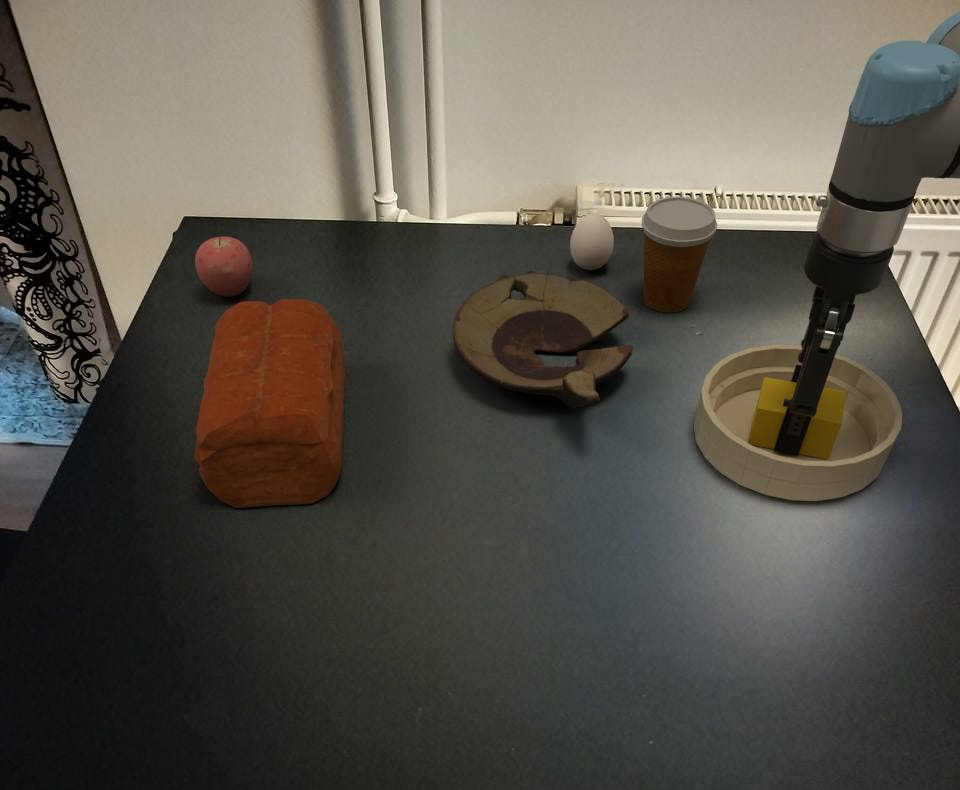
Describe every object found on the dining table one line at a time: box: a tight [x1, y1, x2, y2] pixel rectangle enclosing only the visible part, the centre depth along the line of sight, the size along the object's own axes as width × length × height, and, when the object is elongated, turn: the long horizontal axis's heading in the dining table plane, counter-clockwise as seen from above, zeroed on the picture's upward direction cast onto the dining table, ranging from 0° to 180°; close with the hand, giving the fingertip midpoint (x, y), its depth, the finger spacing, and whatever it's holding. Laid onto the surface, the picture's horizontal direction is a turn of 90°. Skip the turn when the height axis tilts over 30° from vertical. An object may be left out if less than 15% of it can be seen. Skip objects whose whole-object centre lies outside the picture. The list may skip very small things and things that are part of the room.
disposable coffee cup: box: [641, 196, 718, 313], centre depth 117 cm, size 10×10×12 cm
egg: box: [569, 212, 615, 271], centre depth 124 cm, size 6×6×8 cm
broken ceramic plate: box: [451, 270, 634, 408], centre depth 108 cm, size 22×30×8 cm
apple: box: [194, 236, 254, 298], centre depth 120 cm, size 7×7×8 cm
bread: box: [193, 298, 346, 509], centre depth 101 cm, size 16×27×11 cm, turn 4°
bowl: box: [693, 344, 903, 502], centre depth 101 cm, size 22×22×6 cm
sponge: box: [748, 377, 846, 459], centre depth 100 cm, size 9×6×5 cm, turn 72°
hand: (789, 433), depth 102 cm, fingers closed on sponge, 6 cm apart
